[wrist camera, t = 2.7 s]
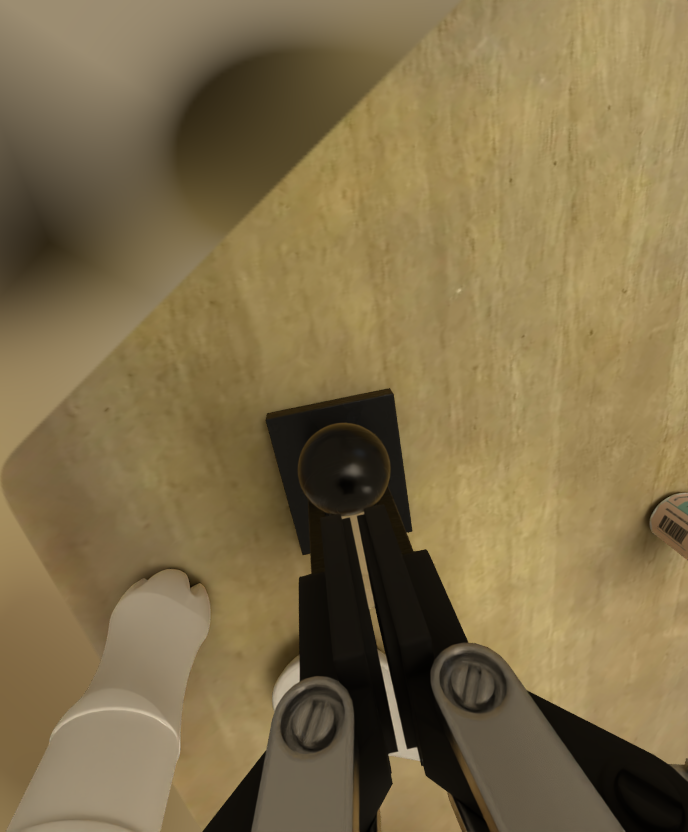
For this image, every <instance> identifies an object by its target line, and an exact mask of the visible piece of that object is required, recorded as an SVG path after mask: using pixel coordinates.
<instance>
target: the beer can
mask: <svg viewBox="0 0 688 832" xmlns="http://www.w3.org/2000/svg"><path fill="white" fill-rule="evenodd" d="M650 529H651V531H652V532H653V534H655V535H656V536H658V537H659V538H660V539H662V540H663V541H664V542H665V543H667V544H668V545H669V546H670V547H672V548H673V549H674V550H675V551H677V552H678V553H679V554H681V555H682V556H683V557H684V558H686V559H687V560H688V493H678V494H674V495H672V496H670V497H668V498H666V499H665V500H663V501H662V502H661V503H659V504H658V505H657V507H656V508H655V509H654V511H653V513H652V515H651V517H650Z"/></svg>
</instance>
